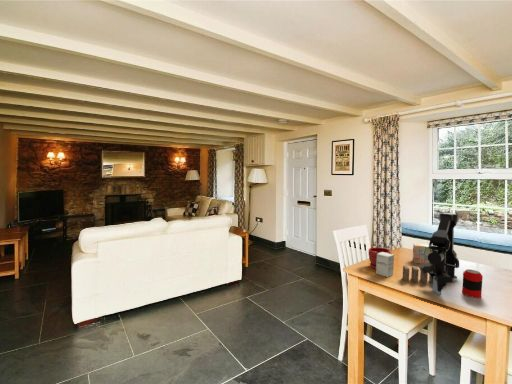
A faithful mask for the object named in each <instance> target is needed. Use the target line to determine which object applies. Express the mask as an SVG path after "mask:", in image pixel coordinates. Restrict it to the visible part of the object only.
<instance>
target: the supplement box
mask: <svg viewBox="0 0 512 384" xmlns="http://www.w3.org/2000/svg"><path fill="white" fill-rule="evenodd" d="M394 265H395V254H393V253H392V254H389V253H385V252H381V253H378V254H377V263H376V269H375V274H376V275H379V276H383V277H385V276H386V278H389V277H391V276H393V275H394Z"/></svg>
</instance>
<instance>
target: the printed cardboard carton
mask: <svg viewBox="0 0 512 384" xmlns="http://www.w3.org/2000/svg"><path fill="white" fill-rule="evenodd" d="M412 245H413V246H412V261H413V263H414V264H415V263H416V264H425V263H430V262H429V260H428V255H429V254H430V253H431V252H432V249H429V244H425V243H424V244H423V243H412ZM431 246H433V245H431Z"/></svg>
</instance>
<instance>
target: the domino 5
mask: <svg viewBox="0 0 512 384" xmlns="http://www.w3.org/2000/svg"><path fill="white" fill-rule="evenodd" d="M434 278H435V276H433V284H432V291H433V292H434V293H435V294H436V295H442V290H441V291H440V292H439V291H438V289H437V281H436V280H435V279H434Z"/></svg>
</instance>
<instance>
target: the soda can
mask: <svg viewBox="0 0 512 384" xmlns="http://www.w3.org/2000/svg"><path fill="white" fill-rule="evenodd" d="M462 274H463V275H462V288H461V292H462V294H463V295H465V296H467V297H470V298H476V299H477V298H478V299H479V298H481V297H482V291H483V290H482V289H483V274H482V273H481V272H480V271H478V270H476V269H465V270H463V273H462Z"/></svg>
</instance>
